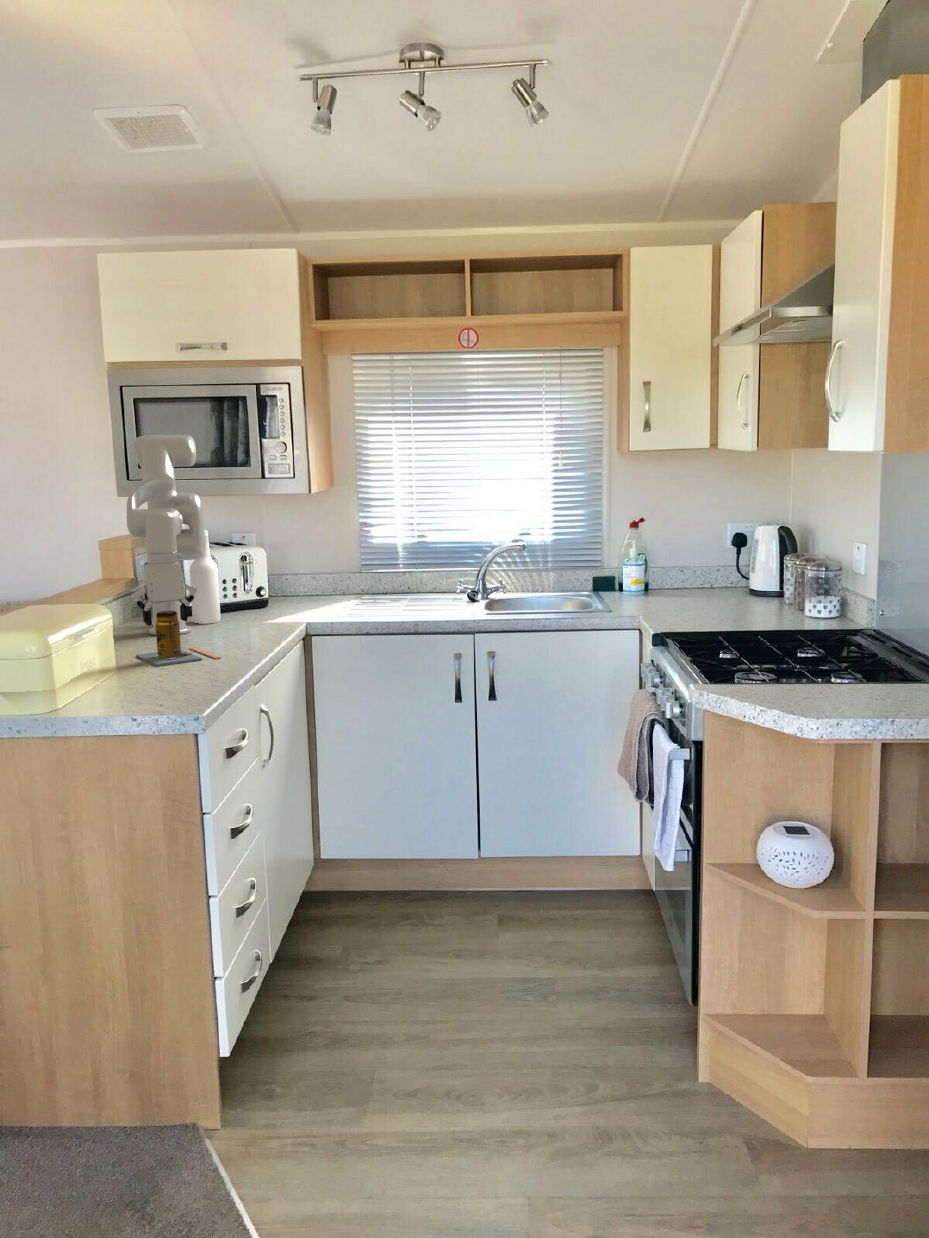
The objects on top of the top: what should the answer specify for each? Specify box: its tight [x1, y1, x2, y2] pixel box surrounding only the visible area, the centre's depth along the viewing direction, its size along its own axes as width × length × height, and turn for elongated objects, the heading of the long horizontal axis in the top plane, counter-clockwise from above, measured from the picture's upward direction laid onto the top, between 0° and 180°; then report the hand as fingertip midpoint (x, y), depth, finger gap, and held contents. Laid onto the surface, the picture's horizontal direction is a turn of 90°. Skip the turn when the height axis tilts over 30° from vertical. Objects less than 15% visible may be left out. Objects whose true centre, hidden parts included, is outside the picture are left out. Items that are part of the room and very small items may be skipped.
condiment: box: [154, 611, 192, 659], centre depth 255 cm, size 7×8×12 cm
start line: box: [189, 646, 221, 660], centre depth 261 cm, size 18×2×1 cm, turn 37°
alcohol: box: [189, 529, 222, 625], centre depth 310 cm, size 9×9×30 cm
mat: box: [135, 649, 203, 667], centre depth 255 cm, size 16×12×1 cm
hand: (166, 622), depth 254 cm, fingers open, 9 cm apart
